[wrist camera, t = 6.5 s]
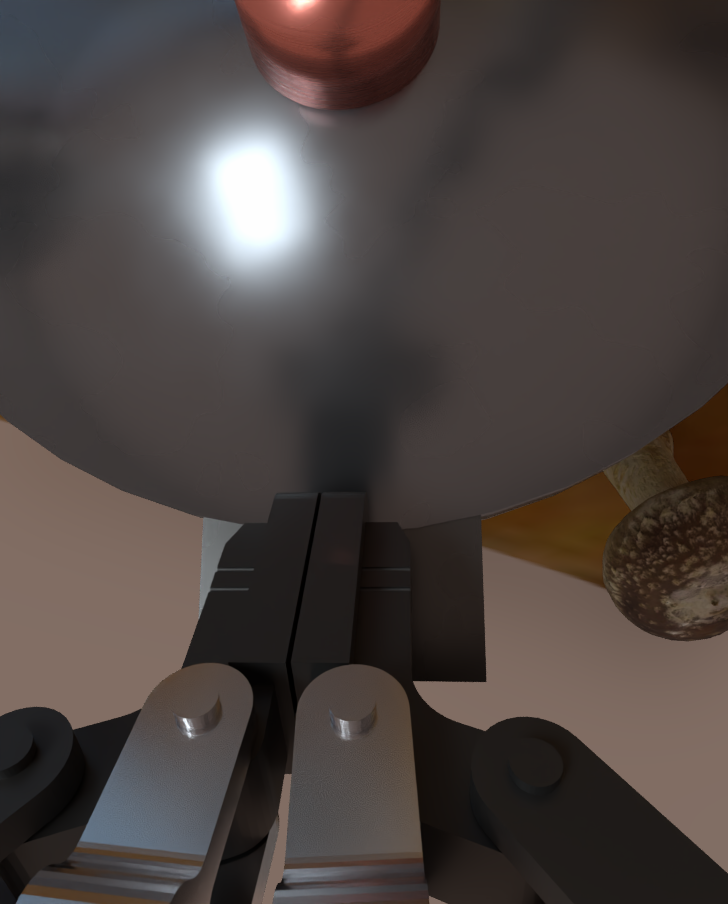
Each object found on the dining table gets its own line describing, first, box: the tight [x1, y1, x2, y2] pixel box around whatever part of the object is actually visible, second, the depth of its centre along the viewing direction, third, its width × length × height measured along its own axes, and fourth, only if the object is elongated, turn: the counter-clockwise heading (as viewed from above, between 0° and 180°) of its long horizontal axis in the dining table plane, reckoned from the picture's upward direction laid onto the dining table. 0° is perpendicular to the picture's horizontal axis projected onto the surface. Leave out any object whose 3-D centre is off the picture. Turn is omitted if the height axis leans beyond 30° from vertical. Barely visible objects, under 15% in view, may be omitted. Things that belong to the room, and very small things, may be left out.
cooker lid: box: [0, 0, 728, 682], centre depth 13 cm, size 21×24×3 cm
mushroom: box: [603, 430, 728, 641], centre depth 35 cm, size 9×9×15 cm
